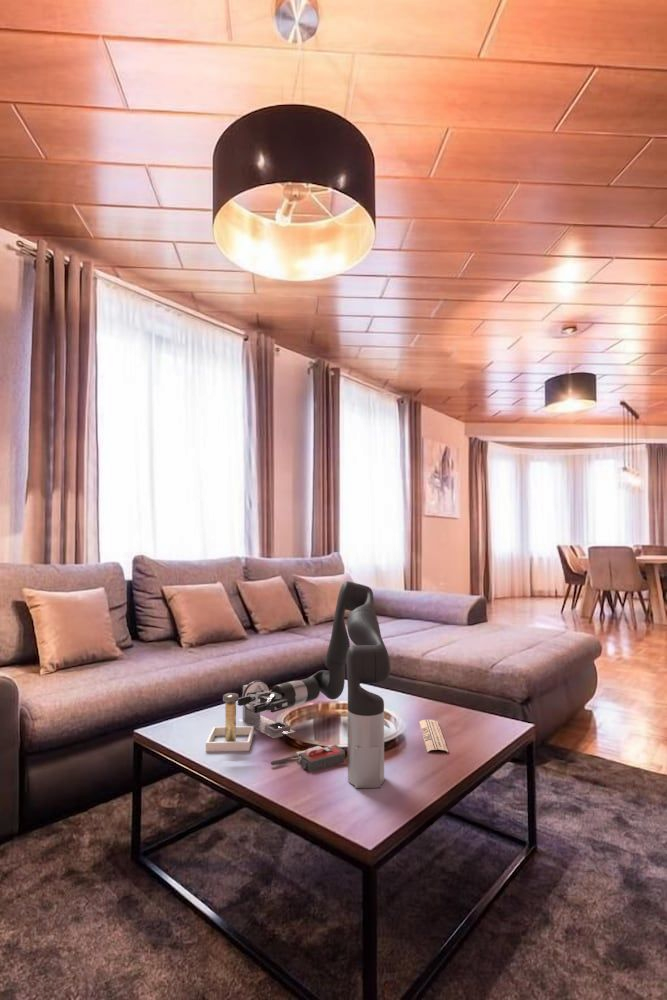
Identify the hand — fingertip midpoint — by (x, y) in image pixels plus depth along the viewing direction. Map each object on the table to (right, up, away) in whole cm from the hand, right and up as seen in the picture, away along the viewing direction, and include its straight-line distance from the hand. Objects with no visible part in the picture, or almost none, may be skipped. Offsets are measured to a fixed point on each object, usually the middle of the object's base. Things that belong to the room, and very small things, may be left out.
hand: (245, 705), depth 158 cm
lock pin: (-4, -10, -4) cm, 11 cm away
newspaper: (+56, -12, +3) cm, 57 cm away
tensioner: (+5, -11, +9) cm, 15 cm away
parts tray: (-4, -10, -4) cm, 12 cm away
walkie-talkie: (+20, -10, -15) cm, 27 cm away
